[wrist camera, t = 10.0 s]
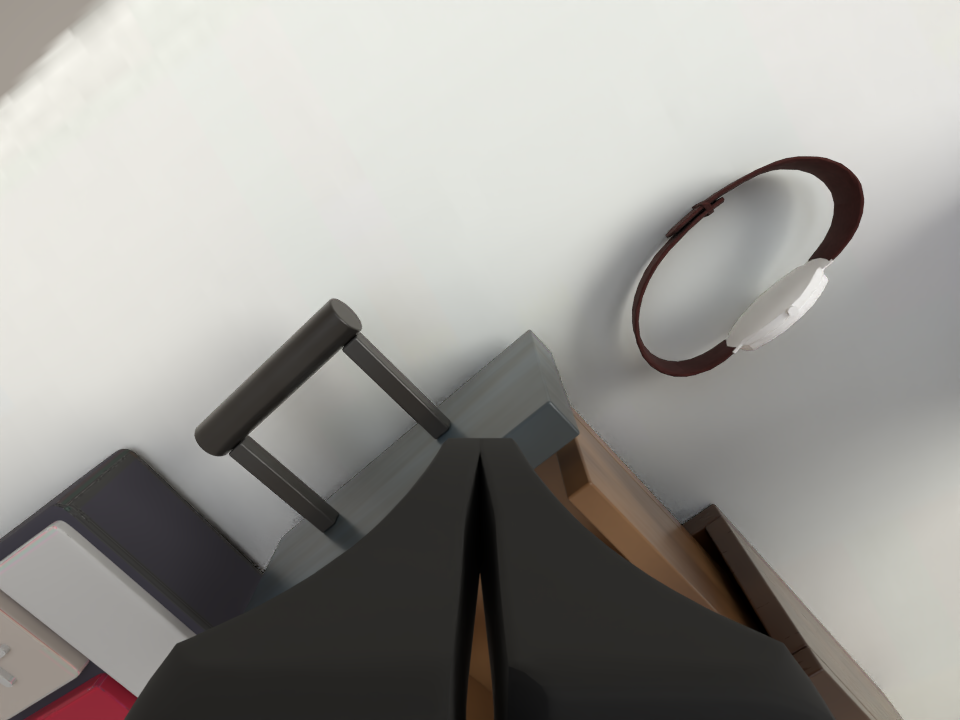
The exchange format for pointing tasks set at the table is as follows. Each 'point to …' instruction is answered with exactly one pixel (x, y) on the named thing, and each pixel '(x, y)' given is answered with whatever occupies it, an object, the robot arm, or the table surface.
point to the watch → (788, 293)
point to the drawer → (465, 414)
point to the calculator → (108, 592)
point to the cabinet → (790, 622)
